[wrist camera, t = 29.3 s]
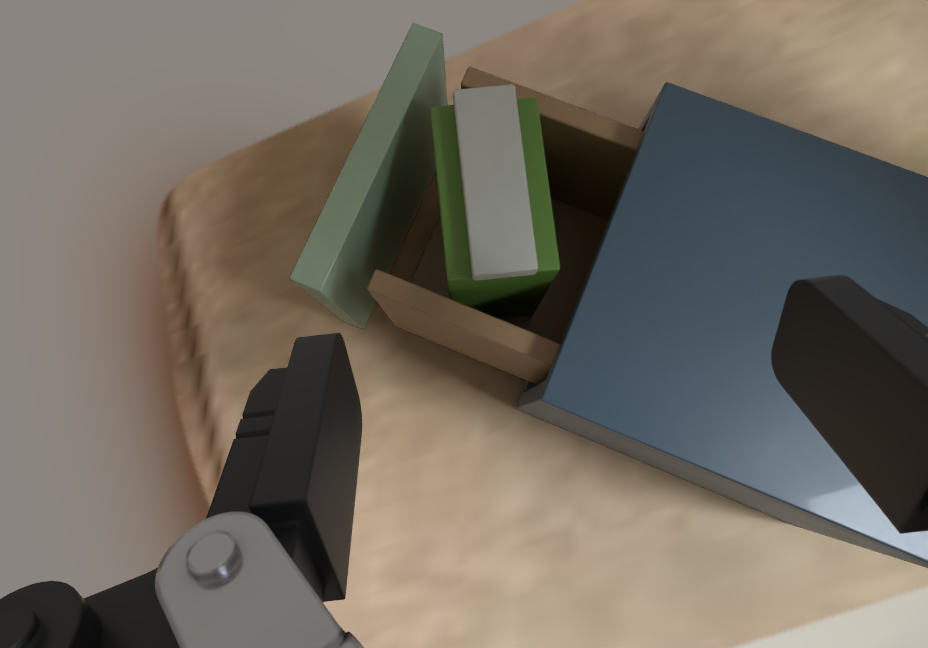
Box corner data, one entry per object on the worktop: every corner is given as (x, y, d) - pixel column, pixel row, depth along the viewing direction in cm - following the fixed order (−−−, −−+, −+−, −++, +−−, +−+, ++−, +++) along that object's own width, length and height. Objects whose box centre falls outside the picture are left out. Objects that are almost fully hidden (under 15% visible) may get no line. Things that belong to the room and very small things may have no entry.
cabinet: (515, 408, 27) (539, 400, 17) (601, 193, 29) (666, 80, 19) (794, 525, 26) (981, 585, 16) (865, 295, 28) (1071, 228, 18)
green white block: (517, 187, 27) (539, 80, 18) (533, 317, 26) (565, 266, 17) (441, 195, 27) (428, 91, 18) (454, 325, 26) (446, 278, 17)
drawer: (317, 310, 27) (256, 265, 19) (406, 121, 28) (382, 10, 21) (590, 424, 26) (640, 424, 18) (666, 221, 27) (742, 143, 20)
